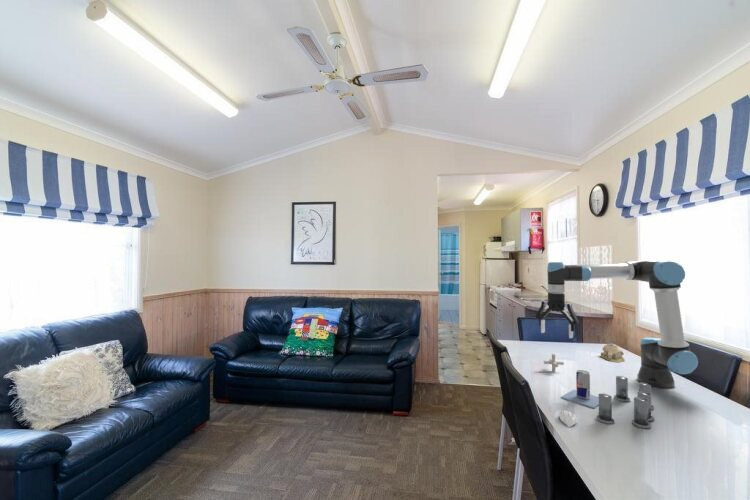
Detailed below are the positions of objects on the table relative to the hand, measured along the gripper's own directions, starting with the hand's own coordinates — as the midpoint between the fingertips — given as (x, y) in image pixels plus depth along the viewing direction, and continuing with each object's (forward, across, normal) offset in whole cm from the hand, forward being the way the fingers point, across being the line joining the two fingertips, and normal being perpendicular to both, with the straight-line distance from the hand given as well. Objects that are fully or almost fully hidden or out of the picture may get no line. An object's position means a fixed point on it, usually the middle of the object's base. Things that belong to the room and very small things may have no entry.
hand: (556, 335), depth 170 cm
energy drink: (+26, +13, -3) cm, 30 cm away
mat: (+27, +13, -3) cm, 30 cm away
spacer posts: (+27, +31, -4) cm, 41 cm away
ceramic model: (+27, -1, +77) cm, 82 cm away
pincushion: (+27, +18, -30) cm, 44 cm away
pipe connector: (+27, -13, +24) cm, 38 cm away
